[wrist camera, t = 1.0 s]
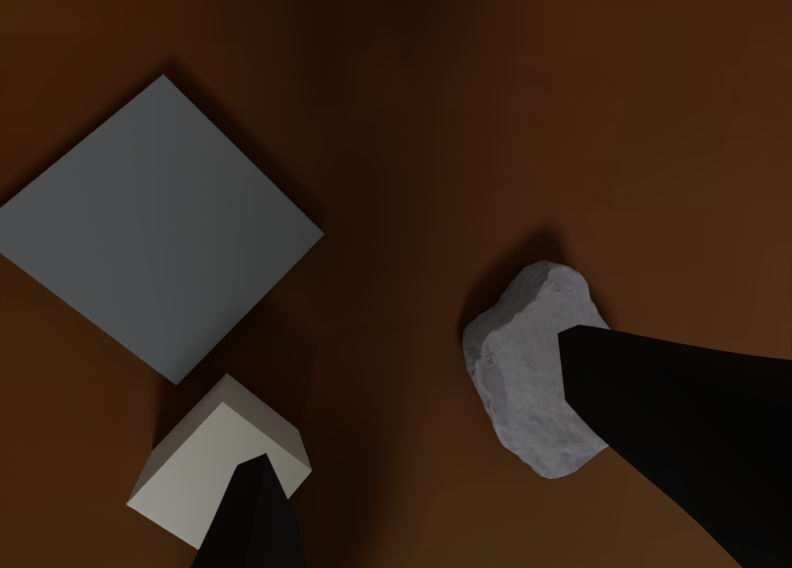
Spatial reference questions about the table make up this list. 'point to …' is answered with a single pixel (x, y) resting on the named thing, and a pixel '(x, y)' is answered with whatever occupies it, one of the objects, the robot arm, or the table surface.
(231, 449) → the cube
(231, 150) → the slate tile
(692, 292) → the table surface
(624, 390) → the robot arm
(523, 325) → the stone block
